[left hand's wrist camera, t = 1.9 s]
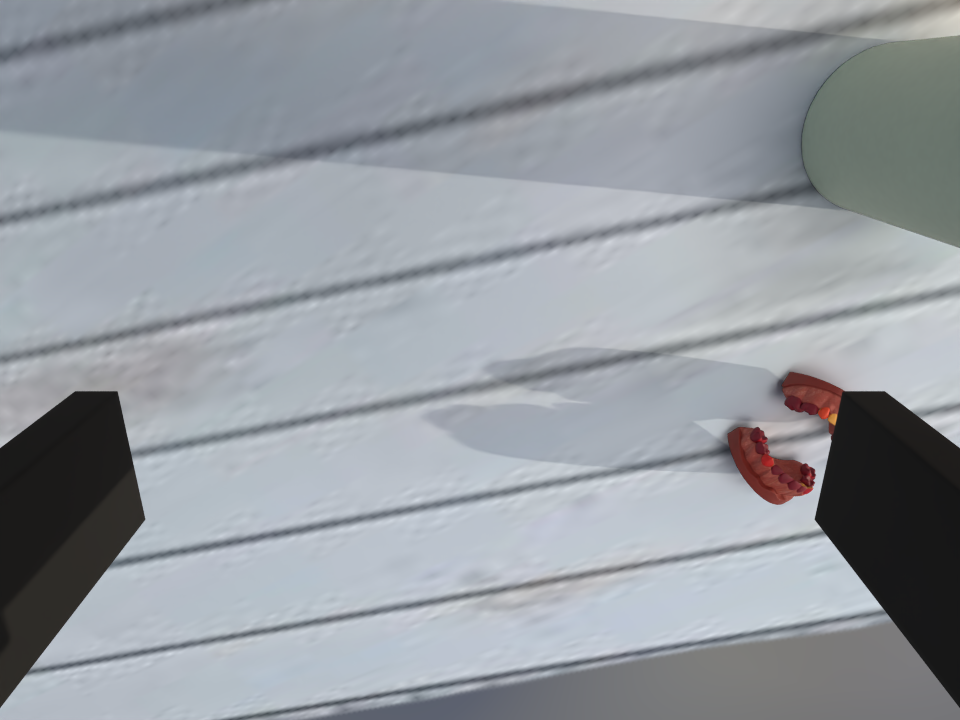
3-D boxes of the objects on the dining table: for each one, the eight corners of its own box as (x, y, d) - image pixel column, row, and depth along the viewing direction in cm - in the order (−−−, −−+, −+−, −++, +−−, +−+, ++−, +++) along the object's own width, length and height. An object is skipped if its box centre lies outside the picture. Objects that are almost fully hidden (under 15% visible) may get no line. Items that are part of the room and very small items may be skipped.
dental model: (903, 435, 39) (799, 528, 42) (867, 405, 43) (773, 491, 45) (834, 380, 38) (731, 478, 40) (803, 353, 42) (712, 445, 44)
